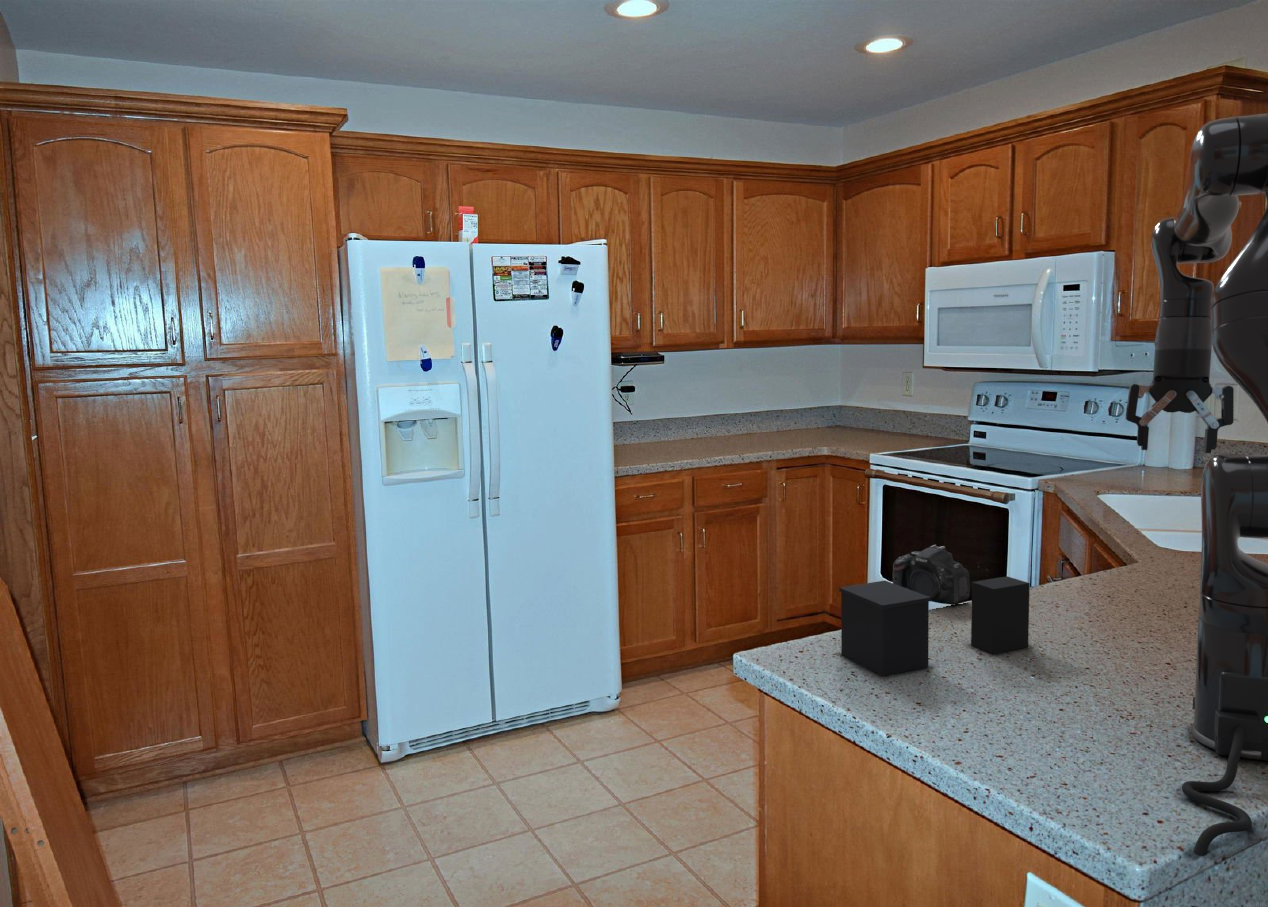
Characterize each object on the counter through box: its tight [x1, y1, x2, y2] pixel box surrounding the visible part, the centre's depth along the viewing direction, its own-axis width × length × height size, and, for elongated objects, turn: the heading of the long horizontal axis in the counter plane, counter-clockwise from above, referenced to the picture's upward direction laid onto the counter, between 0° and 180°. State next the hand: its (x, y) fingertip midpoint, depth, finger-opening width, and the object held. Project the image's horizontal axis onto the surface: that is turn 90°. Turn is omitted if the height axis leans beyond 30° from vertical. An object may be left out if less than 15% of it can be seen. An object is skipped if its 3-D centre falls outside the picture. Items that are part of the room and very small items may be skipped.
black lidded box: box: [838, 580, 931, 677], centre depth 130 cm, size 10×8×10 cm
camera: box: [892, 544, 970, 606], centre depth 160 cm, size 13×10×10 cm
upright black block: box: [970, 575, 1031, 655], centre depth 135 cm, size 4×7×10 cm, turn 112°
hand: (1175, 451), depth 139 cm, fingers open, 8 cm apart
